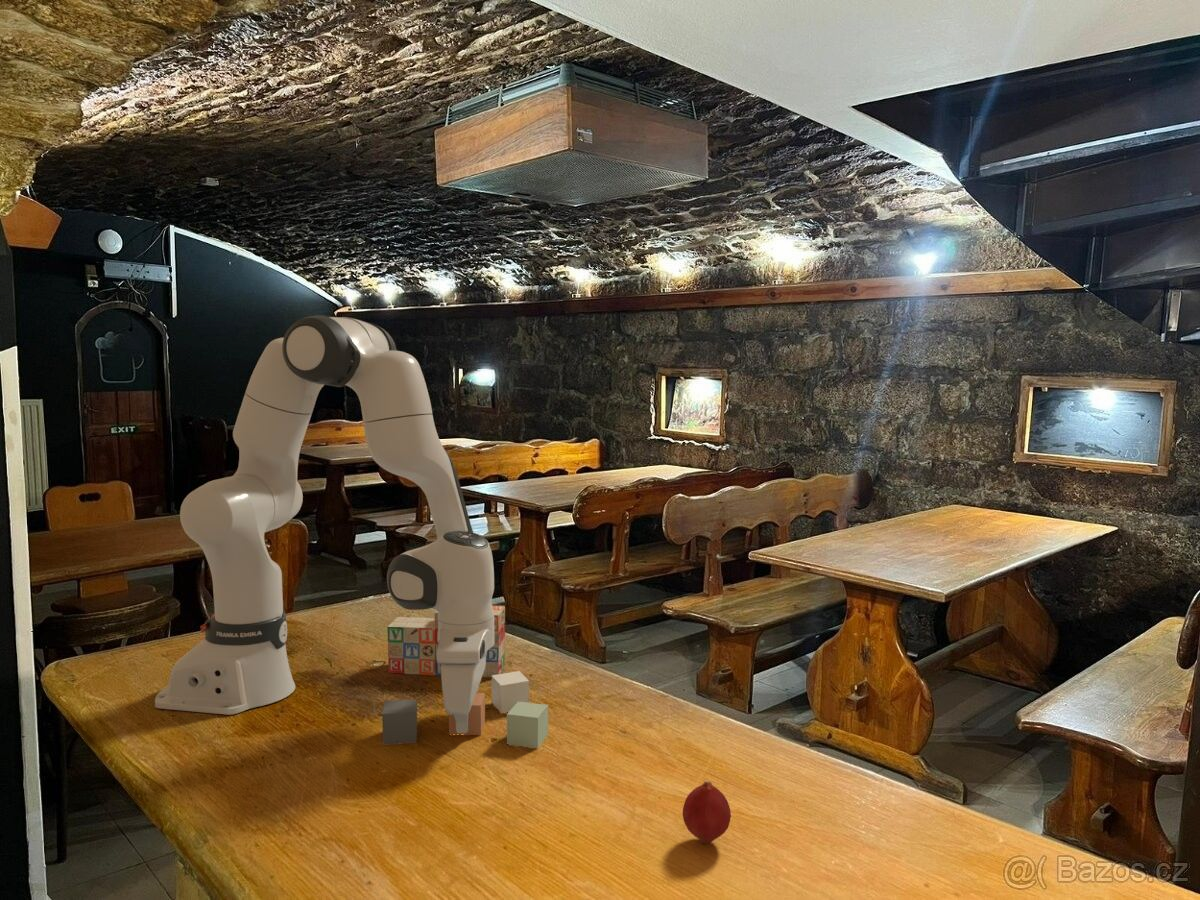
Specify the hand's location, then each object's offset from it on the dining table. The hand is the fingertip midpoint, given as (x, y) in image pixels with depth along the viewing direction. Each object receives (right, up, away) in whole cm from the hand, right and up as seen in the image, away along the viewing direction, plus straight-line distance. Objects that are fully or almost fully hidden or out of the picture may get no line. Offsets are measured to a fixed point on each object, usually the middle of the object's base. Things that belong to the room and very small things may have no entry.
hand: (467, 718), depth 134 cm
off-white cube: (+6, -1, +9) cm, 11 cm away
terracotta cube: (0, -2, 0) cm, 2 cm away
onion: (+34, -5, -31) cm, 47 cm away
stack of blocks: (-8, +1, +26) cm, 27 cm away
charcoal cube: (-10, -2, -3) cm, 11 cm away
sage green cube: (+10, -2, -4) cm, 11 cm away
